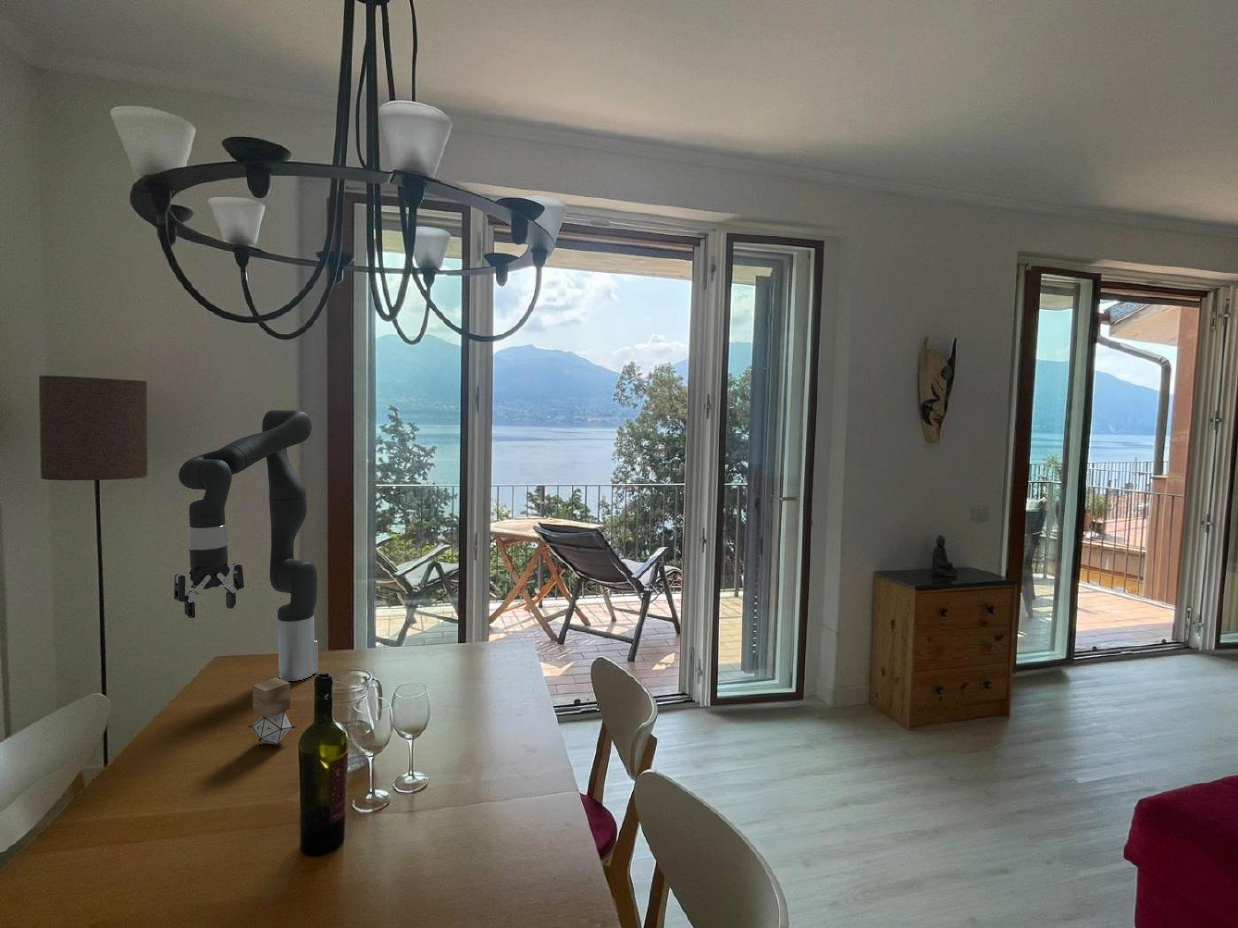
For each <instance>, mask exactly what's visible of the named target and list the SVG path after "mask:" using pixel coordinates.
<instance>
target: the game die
mask: <svg viewBox="0 0 1238 928" xmlns="http://www.w3.org/2000/svg"><path fill="white" fill-rule="evenodd" d="M247 727H248V728H249V729H251V728H252V730H253V733H255V735H256V738H257V742H258V743H261V744H265V745H267V744H268V745H280V743H281V742H282V741H283V740H284V739H285V737H286V736H287V735H288V733H289V732H290V731H291V730H292V729H296V728H297V725H293V724H292V723H291V720H290V718H289V716H288V715H287V711H283V712H280V713H278V714H275V715H272V716H270V717H267V718H266V717H264V716H262V715H260V716H259V718H258V719H257V720H256V721H255V722H254V724H253V725H248V726H247Z"/></svg>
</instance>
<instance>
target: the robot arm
mask: <svg viewBox="0 0 1238 928" xmlns="http://www.w3.org/2000/svg"><path fill="white" fill-rule="evenodd" d="M310 418H311V417H310V416H309V415H308V414H307V413H306V412H304V411H301V410H294V409H293V410H292V409H290V410H289V409H281V410H280V409H273V410H272V409H271V410H269V411H267V412H266V413H265V414H264V416H263V419H262V422H261V423H262V424H261V426H262V427H261V430H262V431H261V432H258V433H254V434H250V435H246V436H244V437H241V438H238V439H235V440H234V441H232V442H230V443H228V444H226V445H224V446H222V447H220V448H218V449H217V450H214V451H213V450H212V451H210V452H206V453H203V454H200V455H199V454H198V455H197V456H194V457H192V458H189V459H188V460H186V461H185V462H184V463H183V464H182V465H181V467H180V469H179V471H178V480H179V482H180V483H181V484H182V486H183V487H185V488H187V489H191V490H204V491H205V493H204V495H203V498H202V499H198V500H194V501H192V502H191V503H190V504H189V506H188V507H189V508H188V509H189V510H188V513H189V514H188V516H189V518H188V519H189V520H188V521H189V532H188V546H189V550H188V551H189V566H190V570H189V573H185V574H184V573H183V574H180V573H176V574H175V575H174V580H173V581H174V582H173V583H174V587H173V588H174V589H173V590H174V591H173V599H174V600H175V601H177V602H180V603H183V604H184V606H183V607H184V614H185V616H186V617H188V618H189V619H193V618H196V602H195V601H194V600H195V599H196V598H197V596H198V595H200V594H201V592H202V590H209V589H210V588H219V587H220V586H221V587H222V588H223V589H224V590H225V591H226V592H225V605H226V606H225V607H226V609H230V610H231V609H234V608H235V606H236V603H237V600H236V599H237V597H236V596H237V593H236V592H237V591H240V590H242V589H244V588H245V583H244V581H245V580H244V571H243V565H241V564H239V563H236V562H235V563H233V564H232V565H228V562H229V555H228V554H229V553H228V533H227V528H226V512H225V511H226V510H225V509H226V504H227V500H228V496H229V493H230V489H231V484H232V481H233V475H236V474H239V473H241V472H243V471H244V470H246V469H248V468H249V467H251V466H252V465H254V464H255V463H257V462H259V461H261V460H263V459H265V458H266V466H267V476H268V477H267V479H268V498H269V500H268V503H269V504H268V505H269V515H270V543H271V544H270V559H269V560H270V561H269V581H270V585H271V587H272V588H273V590H274V591H276V592H279V593H283V594H284V593H285V594H290V602H289V603H287V604H284V605H283V604H282V606H280V607H279V608H278V609H277V642H278V643H277V644H278V645H277V647H278V648H277V649H278V678H280V679H282V680H285V681H292V680H298V679H302V678H306V677H308V676H311V675H312V674H313V673H316V672H317V671H318V672H319V644H318V643H319V642H318V640H317V639H315V608H316V605H317V598H318V597H317V596H318V595H317V592H318V571H317V568H316V566H315V565H314V563H312V562H310V561H307V560H297V559H295V555H294V554H295V553H294V548H295V547H294V546H295V540H296V537H297V534H298V533H299V531H300V529H301V528H302V526H303V523H304V521H305V520H306V517H307V511H308V509H307V508H308V506H307V505H308V504H307V491H306V490H307V489H306V488H305V486H304V483H303V482H302V480H301V478H300V477H299V475H298V473H296V471H295V469H294V468H293V466H292V464H291V462H290V459H289V455H288V450H287V448H291V447H293V446H296V445H299V444H301V443H304V442H305V441H307V440H308V439H309V437H310V436H311V434H312V429H313V428H312V427H313V424H312V421H311V419H310ZM229 573H231V574H232V578H233V579H232V581H233V584H232V582H231V581H230V580H229V579H228V578H227V576H228V575H229ZM189 580H190V581H191V584H190V585H189V587H188V588H187V591H186V584H187V583H188V581H189ZM316 674H318V673H316ZM316 674H315V675H316Z"/></svg>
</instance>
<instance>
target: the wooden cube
mask: <svg viewBox="0 0 1238 928" xmlns="http://www.w3.org/2000/svg"><path fill="white" fill-rule="evenodd" d="M251 689H252V712H254V713H256V714H258V715H260V716H261V715H262V716H264V717H266V718H267V717H270V716H272V715H275V714H278V713H280V712H283V711H285V712H287V711H288V710H290V709H291V682H287V681H284V680H282V679H279V677H277V676H276V677H273V678H271V679H267V680H264V681H260V682H258V683H255V684H252V687H251Z"/></svg>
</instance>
